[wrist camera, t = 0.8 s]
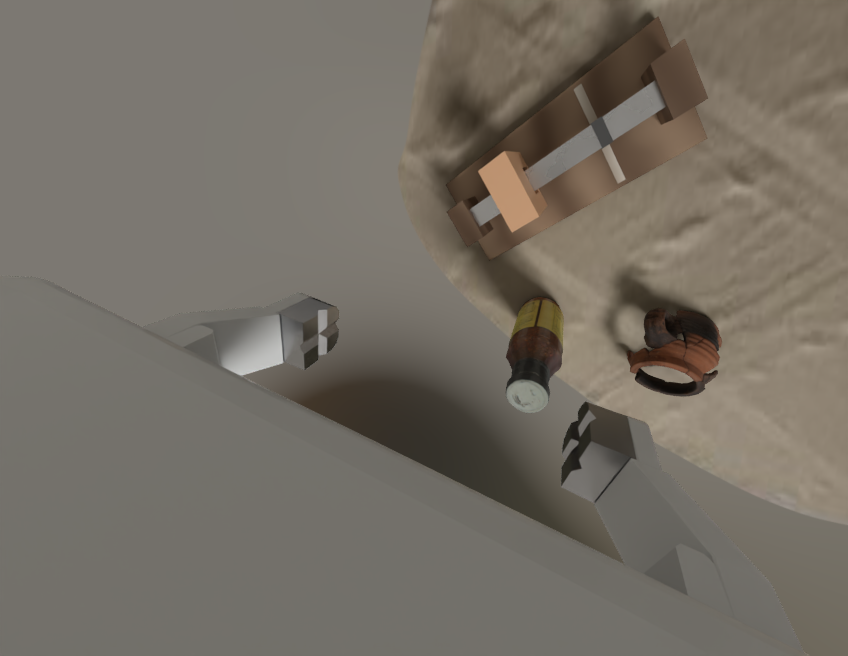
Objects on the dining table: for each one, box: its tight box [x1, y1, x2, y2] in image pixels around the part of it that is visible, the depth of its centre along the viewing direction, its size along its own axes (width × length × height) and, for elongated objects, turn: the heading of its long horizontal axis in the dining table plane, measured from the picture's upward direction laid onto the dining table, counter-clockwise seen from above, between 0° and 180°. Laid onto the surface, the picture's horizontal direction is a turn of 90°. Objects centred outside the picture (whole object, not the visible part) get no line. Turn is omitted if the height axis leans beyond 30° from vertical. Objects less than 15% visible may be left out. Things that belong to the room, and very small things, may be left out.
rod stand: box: [446, 17, 708, 260], centre depth 35 cm, size 25×12×6 cm, turn 127°
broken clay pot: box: [627, 308, 722, 396], centre depth 39 cm, size 12×10×8 cm
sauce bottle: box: [506, 297, 564, 413], centre depth 38 cm, size 7×6×20 cm
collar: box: [478, 151, 548, 232], centre depth 35 cm, size 3×7×9 cm, turn 37°
